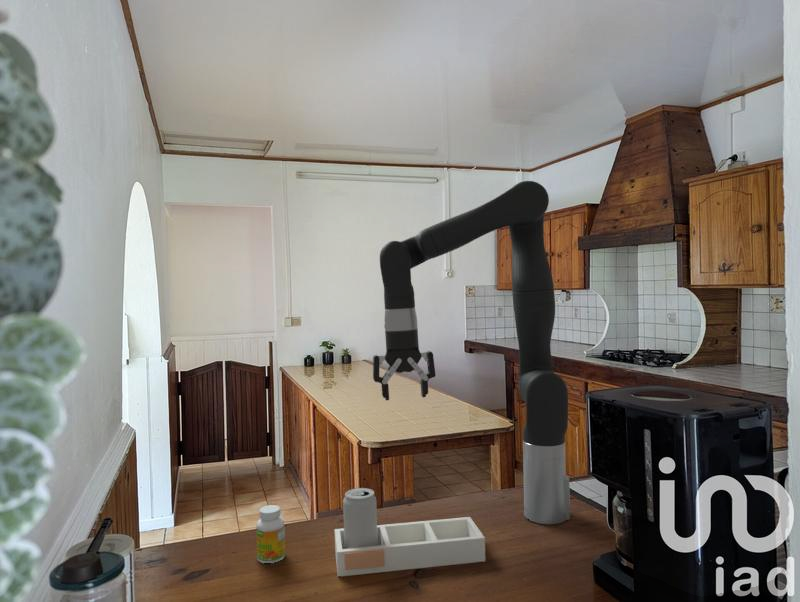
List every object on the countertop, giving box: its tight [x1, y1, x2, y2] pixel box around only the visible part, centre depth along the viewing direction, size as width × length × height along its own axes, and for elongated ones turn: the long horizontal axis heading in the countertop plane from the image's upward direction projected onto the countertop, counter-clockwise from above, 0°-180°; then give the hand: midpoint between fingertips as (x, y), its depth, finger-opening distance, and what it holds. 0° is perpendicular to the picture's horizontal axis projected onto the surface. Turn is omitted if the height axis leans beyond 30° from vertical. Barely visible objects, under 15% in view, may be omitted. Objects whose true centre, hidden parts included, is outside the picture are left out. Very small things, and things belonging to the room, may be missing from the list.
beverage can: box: [342, 487, 378, 549], centre depth 107 cm, size 6×6×12 cm
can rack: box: [334, 516, 486, 577], centre depth 108 cm, size 28×10×4 cm, turn 99°
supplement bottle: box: [255, 504, 286, 564], centre depth 109 cm, size 5×5×10 cm
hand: (405, 398), depth 129 cm, fingers open, 8 cm apart
